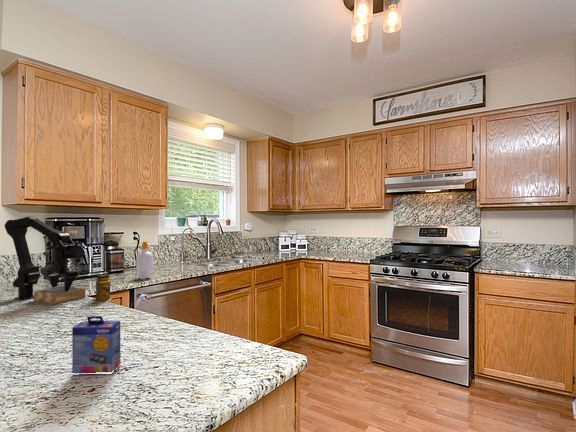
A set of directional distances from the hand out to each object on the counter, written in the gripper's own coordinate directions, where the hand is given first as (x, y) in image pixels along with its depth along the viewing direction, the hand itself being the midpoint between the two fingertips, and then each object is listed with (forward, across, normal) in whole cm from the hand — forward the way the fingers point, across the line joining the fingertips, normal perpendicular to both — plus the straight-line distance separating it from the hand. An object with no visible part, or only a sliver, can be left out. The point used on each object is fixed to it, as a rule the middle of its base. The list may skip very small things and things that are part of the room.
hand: (60, 290), depth 164 cm
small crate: (+3, 0, 0) cm, 3 cm away
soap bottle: (+4, -8, +60) cm, 60 cm away
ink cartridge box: (+4, +88, -47) cm, 100 cm away
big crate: (+4, 0, 0) cm, 4 cm away
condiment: (+4, +20, +6) cm, 21 cm away
